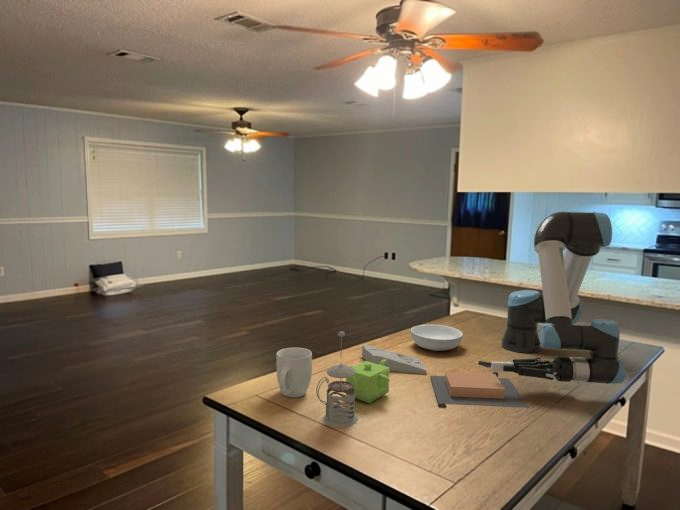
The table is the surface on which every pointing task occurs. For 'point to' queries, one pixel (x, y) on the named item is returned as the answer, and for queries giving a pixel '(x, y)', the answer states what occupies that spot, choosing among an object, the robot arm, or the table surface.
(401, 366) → the ramp
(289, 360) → the mug
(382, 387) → the teapot
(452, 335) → the serving bowl
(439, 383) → the mat
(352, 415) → the french press
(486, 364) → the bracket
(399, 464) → the table surface
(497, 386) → the tile
